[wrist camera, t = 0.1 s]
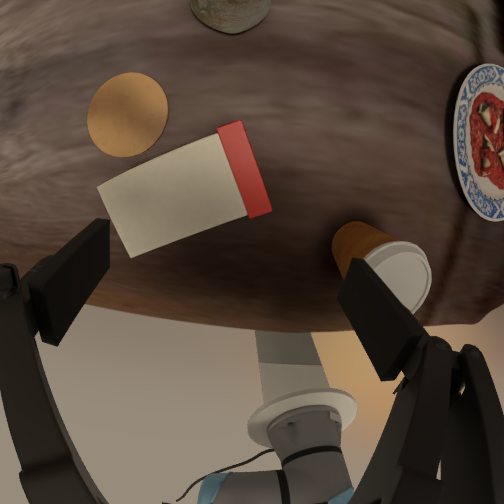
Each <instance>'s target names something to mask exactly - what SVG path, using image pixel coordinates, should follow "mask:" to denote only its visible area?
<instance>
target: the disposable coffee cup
mask: <svg viewBox="0 0 504 504" xmlns="http://www.w3.org/2000/svg"><path fill="white" fill-rule="evenodd" d="M331 249H332V254H333V256H334V259H335V261H336V263H337V266H338V268H339V270H340V273H341V275H342V278H343V280H344V279H345V276H346V274H347V271H348V268H349V265H350V262H351V260H352V257H354V258H360V259H364V260H365V261H366V262H367V263H368V264H369V266H370V267H371V268H372V269H373V270H374V271H375V272H376V274H377V275H378V276H379V277H380V278H381V279H382V280H383V282H384V283H385V284H386V285H387V286H388V287H389V289H390V290H391V291H392V292H393V293H394V295H395V296H396V297H397V298H398V299H399V301H400V302H401V303H402V304H403V305H404V306H405V307H406V308H408V309H409V310H410V311H411V313H412V314H414V313H415V312H416V310H417V309H418V308H419V307H420V306H421V304H422V303H423V302H424V300H425V298H426V296H427V294H428V292H429V289H430V284H431V269H430V267H429V264H428V261H427V258H426V255H425V254H424V252H423V251H422V250H421V249H420V248H419V247H418V246H416V245H415V244H412V243H409V242H402V241H400V240H398V239H396V238H394V237H392V236H390V235H388V234H386V233H384V232H382V231H380V230H378V229H376V228H374V227H372V226H370V225H368V224H366V223H364V222H360V221H353V222H350V223H347V224H345V225H344V226H342V227H341V228H340V229H339V230H338V231H337V232H336V234H335V235H334V238H333V240H332V245H331Z"/></svg>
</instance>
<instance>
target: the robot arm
mask: <svg viewBox="0 0 504 504" xmlns="http://www.w3.org/2000/svg"><path fill="white" fill-rule="evenodd" d="M109 268H110V220H107V219H100V218H97V219H95V220H94V221H93V222H92V223H90V224H89V225H88V226H87V227H86V228H84V229H83V230H82V231H81V232H80V233H79V234H77V235H76V236H75V237H74V238H73V239H72V240H70V241H69V242H68V243H67V244H66V245H65V246H64V247H63V248H61V249H60V250H59V251H58V252H57V253H56V254H55V255H54V256H52V255H50V256H47V257H45V258H43V259H41V260H40V261H39V262H38V263H37V264H36V265H35V266H34V267H33V268H31V269H30V271H28V272H27V273H26V274H25V275H24V276H23V277H22V278H21V279H19V274H18V269H17V267H16V266H15V265H14V264H10V263H3V264H0V391H1V396H2V401H3V406H4V410H5V414H6V418H7V422H8V426H9V430H10V433H11V436H12V440H13V443H14V446H15V449H16V452H17V455H18V458H19V461H20V464H21V467H22V471H21V472H20V473H19V478H20V482H21V485H22V488H23V490H24V492H25V494H26V497H27V499H28V501H29V504H109V503H108V502H107V501H106V499H105V498H104V496H103V495H102V494H101V492H100V491H99V489H98V488H97V486H96V485H95V483H94V481H93V479H92V478H91V476H90V474H89V472H88V471H87V469H86V467H85V466H84V463H83V462H82V460H81V458H80V456H79V454H78V452H77V450H76V448H75V446H74V444H73V442H72V440H71V438H70V436H69V434H68V431H67V429H66V427H65V425H64V423H63V420H62V418H61V416H60V413H59V410H58V408H57V405H56V403H55V400H54V398H53V395H52V392H51V389H50V387H49V384H48V381H47V378H46V375H45V372H44V369H43V365H42V362H41V358H40V355H39V351H38V348H37V344H36V341H35V338H34V337H35V335H36V334H37V332H38V331H39V333H40V336H41V339H42V342H44V343H48V344H51V345H54V346H58V345H59V343H60V342H61V340H62V338H63V337H64V335H65V333H66V332H67V330H68V329H69V327H70V325H71V324H72V322H73V321H74V319H75V317H76V316H77V314H78V313H79V311H80V310H81V308H82V307H83V305H84V304H85V302H86V301H87V299H88V298H89V296H90V295H91V293H92V292H93V290H94V289H95V288H96V286H97V285H98V283H99V282H100V280H101V279H102V278H103V276H104V275H105V273H106V272H107V271H108V269H109ZM337 300H338V301H339V303H340V305H341V307H342V309H343V310H344V312H345V314H346V316H347V318H348V319H349V321H350V323H351V325H352V327H353V329H354V330H355V332H356V334H357V336H358V338H359V340H360V341H361V343H362V345H363V347H364V349H365V351H366V353H367V355H368V356H369V359H370V360H371V362H372V364H373V366H374V368H375V370H376V372H377V374H378V376H379V378H380V380H381V381H393V380H395V379H396V378H397V376H398V374H399V373H400V372H401V370H402V372H403V374H404V375H405V377H404V378H403V380H402V381H401V382H400V384H399V385H398V387H397V388H396V389H395V391H394V392H393V394H395V393H396V392H397V395H396V398H395V401H394V404H393V407H392V410H391V412H390V415H389V418H388V420H387V423H386V425H385V428H384V430H383V433H382V435H381V438H380V440H379V442H378V445H377V447H376V450H375V452H374V454H373V456H372V458H371V461H370V463H369V465H368V467H367V469H366V471H365V473H364V475H363V477H362V479H361V481H360V483H359V485H358V487H357V489H356V490H355V492H353V490H354V487H352V484H351V480H350V477H349V474H348V470H347V467H346V464H345V460H344V457H343V454H342V451H341V447H340V443H341V430H342V420H341V416H340V414H339V411H338V410H337V409H335V408H333V407H331V406H327V405H309V406H303V407H299V408H295V409H292V410H289V411H287V412H285V413H283V414H281V415H279V416H277V417H276V418H274V419H273V420H272V421H271V422H270V423H269V425H268V427H267V435H268V439H269V442H270V443H271V445H272V447H273V449H268V450H265V451H263V452H261V453H259V454H257V455H256V456H254V457H253V458H251V459H249V460H247V461H245V462H242V463H239V464H236V465H233V466H230V467H227V468H224V469H221V470H219V471H215V472H213V473H211V474H208V475H206V476H204V477H202V478H200V479H198V480H197V481H195V482H194V483H193V484H192V485H191V486H190V487H189V488H188V489H187V490H186V492H185V493H184V494H183V496H182V497H180V498H179V499H178V500H176V502H177V501H179V500H181V499H182V498H184V497H185V495H186V494H187V493H188V491H189V490H190V489H191V488H192V487H193V486H194V485H195V484H196V483H198V482H200V481H201V480H203V479H204V480H203V482H202V484H201V487H200V491H199V496H198V503H197V504H504V415H503V411H502V408H501V404H500V401H499V398H498V395H497V392H496V389H495V386H494V383H493V380H492V377H491V375H490V372H489V369H488V366H487V364H486V361H485V359H484V356H483V354H482V352H481V351H480V350H479V349H478V348H476V346H473V345H471V344H465V345H464V346H463V348H462V349H461V351H460V352H456V351H452V348H451V346H450V345H449V344H448V343H447V342H446V341H445V340H444V339H442V338H440V337H437V336H430V335H429V334H428V333H427V332H426V330H425V329H424V328H423V326H422V325H421V324H420V323H419V322H418V320H417V319H416V318H415V317H414V315H413V314H412V313H411V311H410V310H409V309H408V308H406V307H405V306H404V305H403V304H402V303H401V302H400V301H399V299H398V298H397V297H396V296H395V295H394V293H393V292H392V291H391V290H390V289H389V287H388V286H387V285H386V284H385V283H384V282H383V280H382V279H381V278H380V277H379V276H378V275H377V274H376V272H375V271H374V270H373V269H372V268H371V267H370V266H369V264H368V263H367V262H366V261H365V260H364V259H360V258H354V257H352V260H351V262H350V265H349V268H348V271H347V274H346V276H345V279H344V282H343V285H342V287H341V290H340V292H339V295H338V298H337ZM464 386H465V389H464V391H463V393H462V395H461V393H460V391H461V390H462V389H463V387H464ZM273 451H275V452H276V454H277V456H278V457H279V459H280V461H281V465H282V470H271V471H258V472H228V473H220V472H223V471H226V470H229V469H232V468H235V467H238V466H241V465H244V464H247V463H249V462H251V461H253V460H255V459H256V458H258V457H259V456H261V455H263V454H265V453H268V452H273ZM440 458H441V480H438V479H436V477H437V472H438V467H439V463H440ZM162 504H169V503H163V502H162Z"/></svg>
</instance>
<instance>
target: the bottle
mask: <svg viewBox="0 0 504 504" xmlns="http://www.w3.org/2000/svg"><path fill="white" fill-rule="evenodd" d="M271 2H272V0H190V5H191V9H192V11H193V12H194V14H195V15H196V16H197V18H198V19H199V20H200V21H202V22H203V23H204V24H205V25H208V26H210V27H212V28H214V29H216V30H219V31H222V32H226V33H239V32H242V31H245V30H248V29H250V28H252V27H253V26H255V25H257V24H258V23H259V22H260V21H262V20H263V19H264V18H265V17H266V15H267V14H268V12H269V10H270V7H271Z"/></svg>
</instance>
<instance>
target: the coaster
mask: <svg viewBox="0 0 504 504" xmlns="http://www.w3.org/2000/svg"><path fill="white" fill-rule="evenodd" d="M167 119H168V101H167V97H166V95H165V92H164V90H163V89H162V87H161V86H160V85H159V84H158V83H157V82H156V81H155V80H154V79H152V78H150V77H149V76H146V75H144V74H140V73H125V74H121V75H118V76H115V77H113V78H111V79H110V80H108V81H107V82H106V83H104V84H103V85H102V86H101V87H100V88H99V89H98V91H97V92H96V93H95V95H94V97H93V99H92V101H91V103H90V106H89V109H88V116H87V125H88V130H89V133H90V136H91V138H92V140H93V142H94V143H95V144H96V146H97V147H98V148H99V149H100V150H102V151H103V152H105V153H106V154H109V155H111V156H114V157H131V156H135V155H138V154H140V153H142V152H144V151H146V150H147V149H149V148H150V147H151V146H152V145H154V144H155V143H156V141H157V140H158V139H159V138H160V136H161V135H162V133H163V131H164V129H165V126H166V123H167Z"/></svg>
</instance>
